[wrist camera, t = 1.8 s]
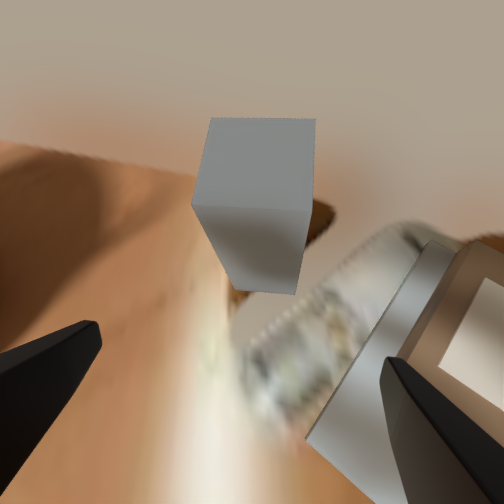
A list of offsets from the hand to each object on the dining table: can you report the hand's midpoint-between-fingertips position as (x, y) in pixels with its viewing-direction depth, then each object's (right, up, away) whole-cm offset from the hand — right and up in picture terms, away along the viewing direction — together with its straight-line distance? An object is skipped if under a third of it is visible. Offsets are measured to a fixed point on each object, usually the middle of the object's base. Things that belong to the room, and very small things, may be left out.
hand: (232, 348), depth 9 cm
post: (+2, +2, +16) cm, 16 cm away
